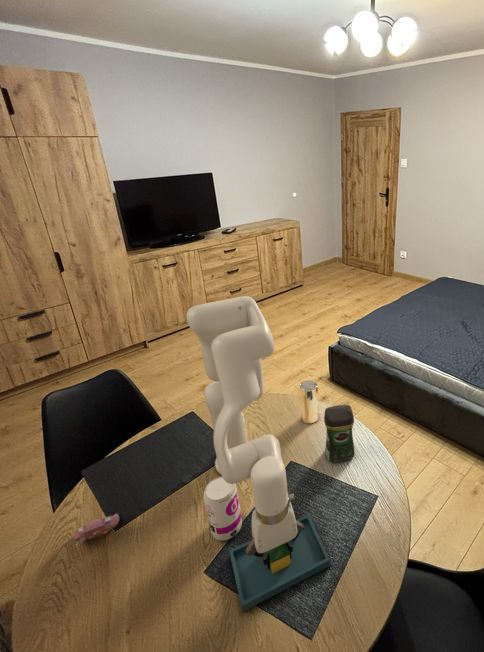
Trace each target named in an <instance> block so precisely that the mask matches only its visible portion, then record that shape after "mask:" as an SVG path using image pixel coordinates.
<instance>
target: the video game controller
mask: <svg viewBox="0 0 484 652" xmlns="http://www.w3.org/2000/svg"><path fill="white" fill-rule="evenodd" d="M119 522H120V516H119V514H118V513H114V515H109V516H105V517H103V518H96V519H93V520H91V521H90V522H88V523H86V524H84V525H81V526H80V527H78V528H76V530H75V532H74V536H73V537H74V542H80V543H83V542H85V541H86V540H92V539H94V538H95V537H97V532H99V534H100V535H106V534H107V533H109V532H110V531H111V530H113V529H114V528H115V527H117V525H118V524H119Z"/></svg>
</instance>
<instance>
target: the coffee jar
mask: <svg viewBox="0 0 484 652" xmlns="http://www.w3.org/2000/svg"><path fill="white" fill-rule="evenodd" d="M323 423H324V426H325V428H326V437H325V457H326V458H327V460H328V462H331V463H343V462H347V461H350V460H352V459H353V458H354V457H355V444H354V437H353V426H354V424H355V417H354V413H353V409H352V406H351V405H349V404H339V405H333V406H329V407H326V408H325V409H324V416H323Z"/></svg>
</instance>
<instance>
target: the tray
mask: <svg viewBox="0 0 484 652" xmlns="http://www.w3.org/2000/svg"><path fill="white" fill-rule="evenodd" d="M296 520H297V521H299V522H301V523H303V525H304V527H305V529H304V530H303V531H302V532H301V533H300V534H298V535H299V536H298V537H297V539H296V540H295V541H294V545H293V546H292V547H293V552H291V557H292V558H291V559H290V565H289V566H287V567H285V568H283V569H281V570H279V571H277V572H275V573H272V571H271V568H270V569H268V567H267V564H266V565H264V563H263V559H262V557H257V556H255V555H253V556H251V555H247V554H246V548H247V547H248V545H249V543H250V542H251V540H249V541H247V542H244V543H242V544H240V545H238V546H236V547H234V548H231V549H229V550H228V552H229V558H230V561H231V566H232V571H233V575H234V580H235V584H236V588H237V593H238V598H239V602H240V607H241V611H242V612H243V613H244V612H246V611H248V610H250V609H252V608H253V607H255V606H257V605H259V604H261V603H263V602H264V601H266V600H268V599H270V598H272V597H274V596H276V595H277V594H280V593H282V592H283V591H285V590H288V589H289V588H291V587H293V586H295V585H296V584H299V583H300V582H302V581H304V580H306V579H308V578H310V577H311V576H314V575H316V574H317V573H319V572H321V571H323V570H325V569H326V568H329V567H331V559H330V557H329V555H328V552H327V550H326V548H325V546H324V543H323V541H322V540H321V537H320V535H319V533H318V530H317V529H316V527H315V524H314V522H313V520H312V518H311V516H310V514H306V515H304V516H302V517H299V518H297V519H296Z"/></svg>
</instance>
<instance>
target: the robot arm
mask: <svg viewBox="0 0 484 652" xmlns="http://www.w3.org/2000/svg"><path fill="white" fill-rule="evenodd" d="M186 321H187V325H188V327H189V328H190V329H191V331H192V332H193V334H194V335H195V336H196V337H197V338H198V340H199V343H200V349H201V354H202V359H203V366H204V370H205V373H206V376H207V378H208V379H209V380H210V381H211V382H210V383H209V384H207V386H206V387H205V388H204V390H203V392H204V393H203V396H204V401H205V403H206V406H207V409H208V411H209V414H210V418H211V422H212V427H213V437H212V439H213V447H214V452H215V455H216V458H215V461H214V466H215V470H216V471H217V473H218V474H220V475H221V477H223V479H224V480H225V481H226V482H227V483H229V484H238V483H240V482H242V481H245V480H247V479H249V478H250V482H251V483H250V484H251V489H252V496H253V502H254V509H253V511H252V515H251V537H252V539H250V541H251V542H250V543H249V545H248V547H247V548H246V554H247V555H251V556H253V555H255V556H257V557H262V559H263V563H264V565H266V564H267V567H268V569H270V568H271V565H270V558H269V555H268V552H269V550H271V549H273V548H276V547H278V546H280V545H282V544H284V543H286V545H287V548H288V550H289V554H290V559H291V558H292V557H291V552H293V547H292V546H293V545H294V541H295V540H296V539H297V537H298V536H299V535H298V534H300V533H301V532H302V531H303V530H304V529H305V527H304V525H303V523H301V522H299V521H297V519H296V515H295V512H294V508H293V505H292V501H294V500H295V496H294V493H289V492H288V484H287V483H288V482H287V473H286V466H285V464H284V462H283V458H282V457H283V456H282V449H281V443H280V441H279V439H278V438H276V436H275V435H274V434H270V433H269V434H264V435H262V436H259V437H256V438H254V439H252V440H248V433H247V427H246V419H245V415H244V413H243V411H244V410H246V408H247V407H249V406H250V405H251V404H252V403H253V402H256V401H258V400H260V399H261V398H262V397H263V395H264V393H265V383H264V373H263V372H264V371H263V362H262V360H263V359H264V358H268V357H270V356H272V355H273V354H274V350H275V343H274V338H273V334H272V331H271V329H270V327H269V324H268V323H267V321H266V319H265V317H264V315H263V313H262V310H261V308H260V307H259V305H258V303H257V302H256V300H255V299H254V298H253V297H251V296H248V295H243V296H237V297H233V298H227V299H222V300H217V301H212V302H211V301H210V302H207V303H202V304H198V305H194V306H191V307H190V308H189V309H188V310H187V311H186ZM288 493H289V494H288Z"/></svg>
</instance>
